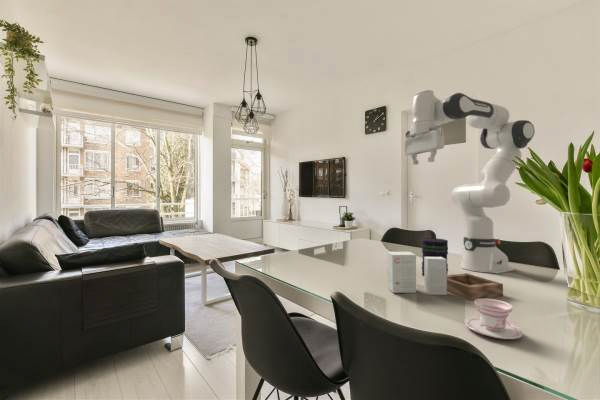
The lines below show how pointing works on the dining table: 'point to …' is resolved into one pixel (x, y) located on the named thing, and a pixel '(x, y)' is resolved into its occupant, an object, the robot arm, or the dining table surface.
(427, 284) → the skincare box
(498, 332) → the teacup
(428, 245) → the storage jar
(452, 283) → the wooden tray
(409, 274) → the small box
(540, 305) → the dining table surface
